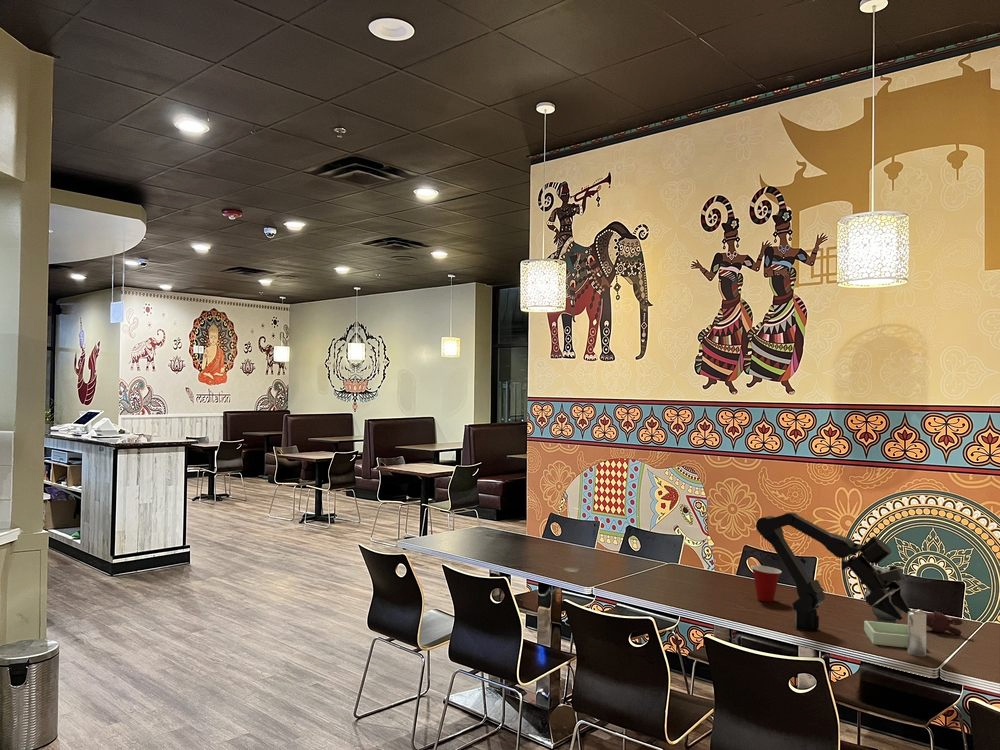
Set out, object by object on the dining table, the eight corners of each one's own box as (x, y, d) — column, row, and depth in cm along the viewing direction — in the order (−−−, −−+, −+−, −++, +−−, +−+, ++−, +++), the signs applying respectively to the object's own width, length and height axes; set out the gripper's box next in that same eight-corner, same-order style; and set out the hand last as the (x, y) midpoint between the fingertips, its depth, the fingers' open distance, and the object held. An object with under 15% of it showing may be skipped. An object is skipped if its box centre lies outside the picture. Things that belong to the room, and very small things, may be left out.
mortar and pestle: (906, 623, 249) (906, 588, 249) (897, 629, 242) (897, 592, 243) (871, 616, 257) (871, 581, 257) (861, 621, 250) (862, 586, 251)
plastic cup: (783, 604, 269) (784, 572, 269) (753, 602, 271) (753, 569, 271) (778, 597, 279) (779, 565, 280) (749, 595, 281) (749, 563, 282)
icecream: (908, 610, 242) (962, 623, 233) (912, 600, 247) (964, 613, 239) (907, 629, 243) (960, 643, 234) (910, 619, 249) (962, 632, 240)
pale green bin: (873, 644, 225) (873, 632, 225) (864, 631, 238) (864, 620, 238) (922, 649, 221) (922, 637, 222) (910, 636, 234) (910, 625, 235)
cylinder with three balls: (909, 655, 216) (910, 610, 216) (905, 650, 220) (905, 606, 221) (928, 657, 214) (928, 612, 215) (923, 652, 219) (923, 608, 219)
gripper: (877, 561, 217) (918, 606, 209) (895, 553, 231) (934, 595, 223) (849, 583, 222) (888, 628, 214) (868, 574, 236) (906, 616, 228)
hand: (905, 616), depth 220 cm, fingers open, 9 cm apart
